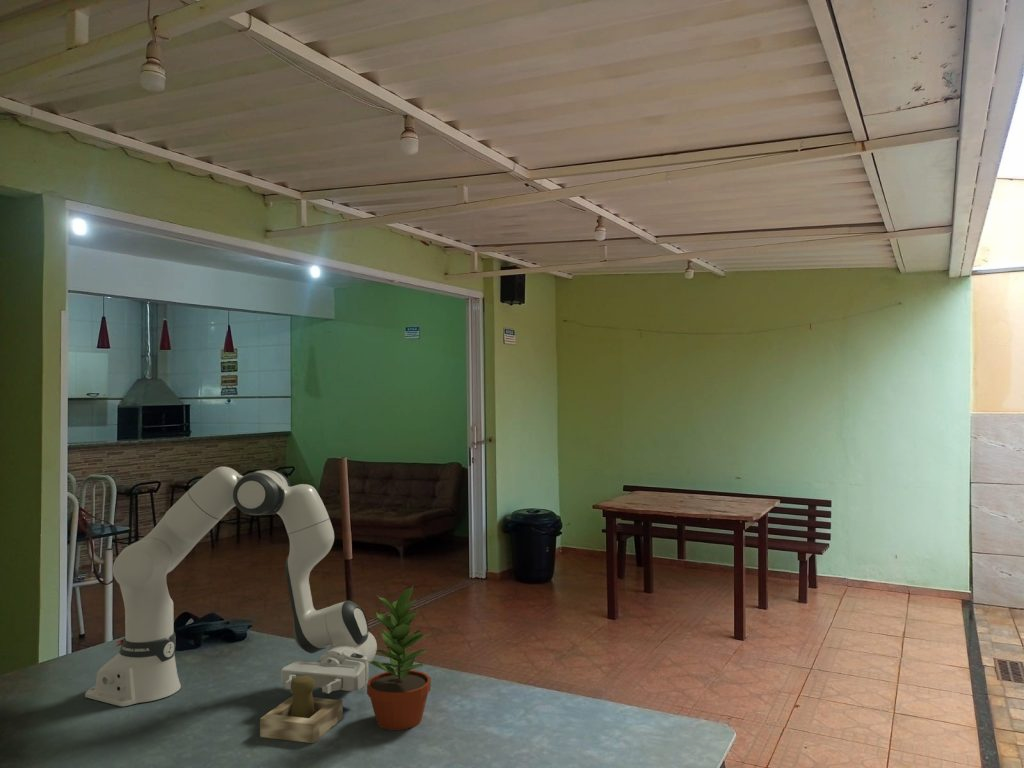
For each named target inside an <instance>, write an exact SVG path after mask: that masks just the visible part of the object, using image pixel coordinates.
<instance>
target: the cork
mask: <svg viewBox="0 0 1024 768" xmlns="http://www.w3.org/2000/svg"><path fill="white" fill-rule="evenodd" d="M314 689H315V687H314V680H313V678H312V677H310V676H299V677H296V678H294V679H293V680H292V682H291V690H290V691H291V693H292V696H293V700H292V708H291V716H292V717H301V718H310V717H311V716H313V715H314V714H315V709H314V702H313V697H314V696H313V691H314Z"/></svg>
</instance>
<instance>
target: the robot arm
mask: <svg viewBox="0 0 1024 768" xmlns="http://www.w3.org/2000/svg"><path fill="white" fill-rule="evenodd" d="M234 507H235V508H236V507H237V509H239V511H240V512H242V513H244V514H246V515H251V516H263V515H264V516H265V515H268V516H269V515H276V514H277V515H278V516H279V517H280V518H281V520H282V521H283V524H284V527H285V530H286V533H287V536H288V540H289V554H288V555H287V557H286V559H285V562H284V563H285V567H284V568H285V575H286V582H287V588H288V589H287V590H288V593H289V599H290V601H289V602H290V605H291V606H290V607H291V610H292V611H291V612H292V616H293V618H292V619H293V636H294V637H293V638H294V641H295V642H296V644H297V646H298V647H299V648H300V649H301V650H303V651H304V652H306V653H308V654H316V653H318V652H320V651H322V650H324V649H326V648H329V647H331V648H330V649H328V650H327V651H325V652H324V653H322V654H321V656H320V657H319V658H318V661H316V660H306V659H305V660H304V659H303V660H296V661H294V662H292V663H290V664H287V665H285V666H284V667H282V668H281V670H280V680H281V681H280V682H281V684H282V685H283V686H284V689H285V690H288V691H291V682H292V680H293V679H294V678H296V677H299V676H310V677H312V678H313V680H314V689H315V688H316V689H317V688H318V689H322V690H321V693H322V694H330V693H331V692H334V691H347V692H357V691H359V690H361V689H362V688H363V687H364V686H365V685H367V683H368V681H369V677H370V676H369V664H371V663H370V662H371V661H374V658H375V657H376V654H377V650H378V644H377V640H376V638H375V636H374V635H373V633H371V632H370V631H369V624H368V623H369V622H368V619H367V616H366V614H365V611H364V610H363V609H362V608H361V606H359V604H357V603H355V602H354V601H352V600H345V601H341V602H338V603H335V604H332V605H331V606H326V607H325V608H321V609H318V610H317V609H315V607H314V603H313V597H312V592H311V585H310V581H309V580H310V579H309V578H310V575H311V574H310V573H311V572H312V570H313V569H314V568H315V566H317V564H319V562H320V561H322V560H323V559H324V558H325V557H326V556H327V555H328V554H329V552H330V551H331V549H332V547H333V545H334V542H335V531H334V528H333V525H332V522H331V518H330V516H329V513H328V511H327V509H326V506H325V505H324V502H323V499H322V498H321V497H320V494H319V493H318V491H317V489H316V488H315V487H314V486H312V485H310V484H306V483H305V484H304V483H302V484H301V483H299V484H296V485H293V486H291V484H290V481H289V479H288V478H287V476H285V474H283V473H282V472H280V471H277V470H275V469H274V470H273V469H262V470H256V471H253V472H250V473H249V472H248V474H245V475H242V474H240V473H239V471H237V470H235V469H233V468H232V467H228V466H219V467H216V468H214V469H213V470H211V471H210V472H209V473H207V474H206V475H204V476H202V478H200V479H199V480H198V481H197V482H195V484H193V485H192V486H191V487H190V488H189V489H188V490H187V491H186V492H185V493H184V494H183V495H182V496H181V497H179V499H178V500H177V501H176V502H175V503H173V505H172V506H171V507H170V508H169V509H168V510H167V511H166V512H165V514H164V515H163V517H162V518H160V520H159V521H158V523H157V524H156V525H155V527H153V528H152V529H151V531H150V532H149V533H148V534H147V535H145V536H144V537H143V538H141V539H139V540H138V541H135V542H133V543H130V544H129V545H128V546H126V547H125V548H124V549H122V551H120V553H119V554H118V555H117V556H116V558H115V560H114V561H113V565H112V575H113V577H114V579H115V581H116V582H117V584H119V589H120V592H121V596H122V600H123V605H124V614H125V615H124V616H125V617H124V618H125V619H124V623H125V628H124V630H125V631H124V632H125V633H124V634H125V637H123V638H122V639H121V640H118V641H116V642H115V644H116V645H115V646H116V647H119V646H120V649H119V652H118V653H117V654H115V656H113V657H112V658H111V659H110V660H108V662H106V663H105V664H104V665H102V666H101V668H100V669H99V670H98V672H97V675H96V680H95V685H94V686H92V687H90V688H89V689H87V691H86V692H85V693H84V697H85V698H86V699H87V698H88V699H91V700H94V701H99V702H103V703H107V704H111V705H114V706H118V707H127V706H132V705H134V704H139V703H147V702H152V701H157V700H160V699H163V698H164V699H165V698H167V697H169V696H172V695H174V694H175V693H177V692H178V691H179V690H180V689H181V688H182V685H181V682H180V679H179V674H178V670H177V669H178V668H177V663H176V656H175V651H176V646H177V645H176V632H175V630H174V627H175V626H174V625H175V624H174V621H175V620H174V618H175V617H174V601H173V599H172V598H171V596H170V592H169V589H168V584H167V583H168V582H167V575H168V573H171V572H172V571H173V570H174V569H175V568H176V567H177V566H178V565H179V564H180V563H181V562H182V561H183V560H184V559H185V557H186V556H187V555H188V554H189V553H190V552H191V551H192V550H193V549H194V547H195V546H196V545H197V544H198V543H199V542H200V541H201V540H202V539H203V538H204V537H205V536H206V535H207V534H208V533H209V532H210V531H211V530H212V528H214V527H215V526H216V525H217V524H218V523H219V521H221V520H222V519H223V518H224V517H225V515H227V514H228V513H229V512H230V511H231V510H232V509H233V508H234ZM375 650H376V651H375ZM366 660H367V661H366ZM368 661H369V662H368Z"/></svg>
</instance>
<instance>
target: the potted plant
mask: <svg viewBox="0 0 1024 768" xmlns="http://www.w3.org/2000/svg"><path fill="white" fill-rule="evenodd" d="M413 588H414V585H411V587H410V588H406V589H405V590H403V591H402V592H401V594H400V596H399V598H398V599H397V600H395V601H393V602H392V603H391V601H389V600H388V599H386V598H385V597H379V595H378V594H376V596H377V597H378V599H379V600H380V601H381V602H382V603H383V605H384V607H386V609H387V610H388V611H389V612H390V615H387V614H385V613H380V614H379V613H378V612H375V614H376V617H375V618H374V616H372V618H373V619H374V620H376V621H377V622H379V623H381V624H382V625H384V627H385V628H387V630H388V631H386V630H385V628H383V630H382V629H381V628H380V627H379V626H378V625H377V624H376V623H375V624H374V625H376V627H377V628H378V630H380V631H381V632H382V633H381V637H382V639H383V641H384V645H386V647H387V649H388V652H387V651H384V650H381V649H377V650H375V651H376V653H379V654H381V655H384V656H386V657H388V658H389V662H380V661H377V660H372V661H371V662H370V663H369V664H372V665H373V666H375V667H377V668H379V669H381V670H383V671H384V672H382V673H378V674H376V675H374V676H372V677H370V679H368V683H367V684H366V695H368V698H370V702H371V705H372V709H373V714H374V716H375V720H376V724H377V723H378V724H377V726H378V727H380V726H381V727H382V729H384V728H386V729H385V730H387V729H391V730H390V731H403V730H407V729H408V728H409V729H411V728H414V727H416V726H418V725H419V724H420V723H421V722H422V719H423V716H424V711H425V707H426V702H427V700H428V694H429V693H430V691H432V690H431V689H432V688H431V686H432V685H431V680H432V679H431V677H430V675H429V674H428V673H426V672H423V671H419V670H413V669H417V668H422V667H425V664H424V663H417V664H416V663H415V664H414V662H415V659H416V658H417V657H418V656H420V655H422V654H425V653H427V652H428V651H430V649H428V650H426V649H420V650H417V651H414V650H415V649H413V648H412V651H410V652H407V653H406V649H408V648H409V647H411V646H413V645H414V644H416V643H417V642H419V641H420V640H422V639H424V638H425V637H427V636H429V633H428V634H426V635H425V634H423V633H422V634H420V633H421V632H422V631H424V630H417V631H415V632H413V633H411V634H409V633H410V631H411V624H412V623H413V620H415V618H416V616H417V613H418V612H419V610H418V609H416V610H414V612H410V610H411V609H412V607H413V606H414V604H415V602H416V598H415V599H413V600H411V601H410V599H411V596H412V593H413V591H414V590H413ZM366 661H367V660H366ZM368 662H369V661H368ZM381 727H380V728H381ZM402 729H403V730H402Z"/></svg>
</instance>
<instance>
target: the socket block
mask: <svg viewBox="0 0 1024 768" xmlns="http://www.w3.org/2000/svg"><path fill="white" fill-rule="evenodd" d="M292 700H293V695H291V696H290V697H288V698H287V699H286V700H284V701H283V702H281V703H280V704H278V705H277V706H276V707H274V708H273V709H271V710H269V712H267V713H266V714H264V715H263V716H262V717H260V718H259V720H260V721H259V737H260V738H267V739H277V740H285V741H292V742H301V743H308V744H314V743H316V742H317V741H318V740H320V738H322V737H323V736H324V735H325V734H326V733H327V732H329V730H331V729H332V728H333V727H334V726H335V725H336V724H337V722H338V721H339V720H340V719H341V718H342V717H344V716H343V715H344V712H343V710H344V709H343V707H344V706H343V705H344V704H343V703H344V701H343V700H342V699H333V698H321V697H314V696H313V702H314V709H315V714H314V715H313V716H311V717H310V718H301V717H292V716H291V708H292ZM342 719H343V718H342ZM342 719H341V720H342ZM341 720H340V721H341ZM340 721H339V722H340ZM339 722H338V723H339ZM332 726H333V727H332ZM331 727H332V728H331ZM330 728H331V729H330Z"/></svg>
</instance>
